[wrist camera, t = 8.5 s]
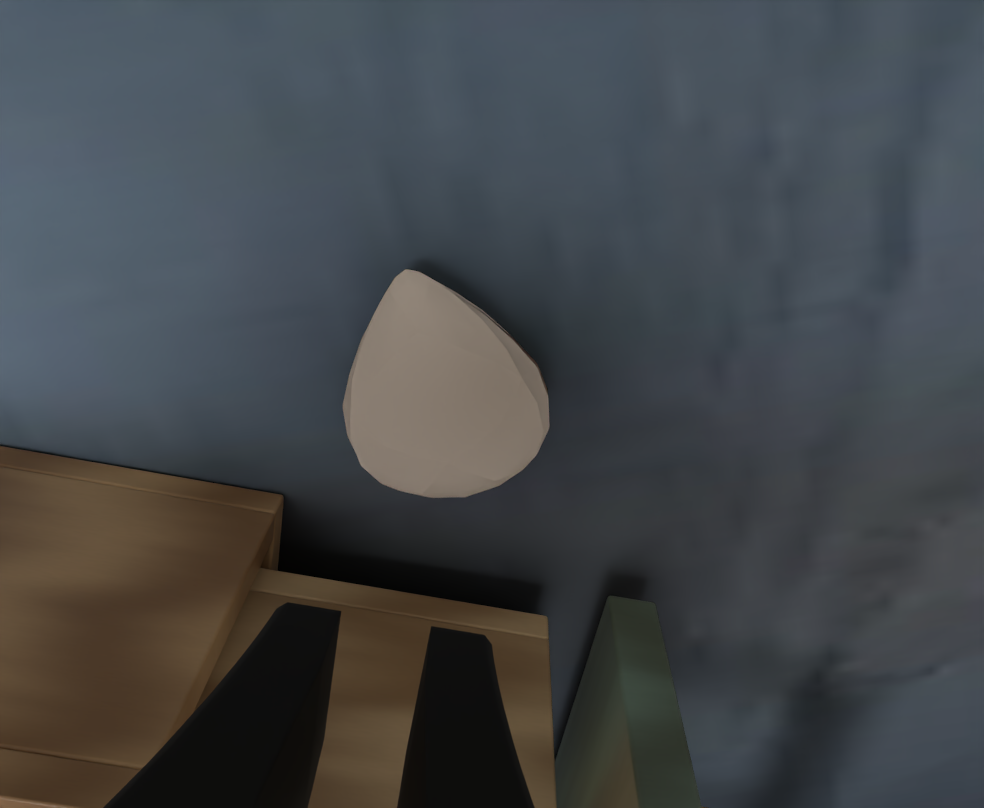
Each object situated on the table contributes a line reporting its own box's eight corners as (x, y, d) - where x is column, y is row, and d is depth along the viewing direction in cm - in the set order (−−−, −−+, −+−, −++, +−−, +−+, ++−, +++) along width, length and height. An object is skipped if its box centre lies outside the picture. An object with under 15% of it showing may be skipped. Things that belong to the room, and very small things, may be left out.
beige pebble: (382, 473, 19) (363, 536, 17) (314, 273, 17) (283, 314, 15) (561, 440, 18) (568, 500, 16) (515, 228, 16) (515, 264, 14)
